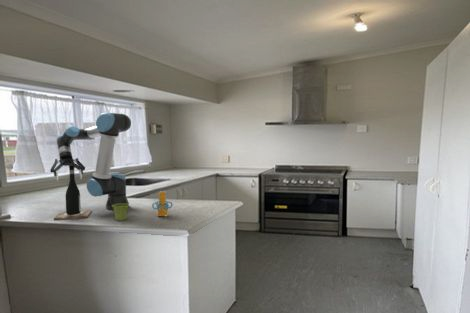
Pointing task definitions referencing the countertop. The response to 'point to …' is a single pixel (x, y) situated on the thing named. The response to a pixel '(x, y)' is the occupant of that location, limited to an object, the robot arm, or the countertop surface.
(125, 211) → the plant pot
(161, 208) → the orange block with loops
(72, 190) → the wine bottle
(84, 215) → the board
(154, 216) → the countertop surface
